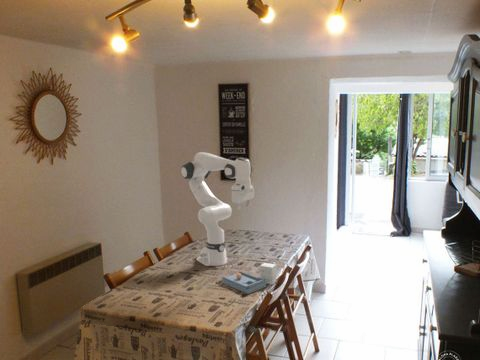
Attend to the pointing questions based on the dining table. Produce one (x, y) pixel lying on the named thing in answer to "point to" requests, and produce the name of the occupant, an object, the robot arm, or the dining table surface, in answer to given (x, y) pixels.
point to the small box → (268, 273)
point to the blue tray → (245, 282)
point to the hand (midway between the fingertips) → (243, 208)
